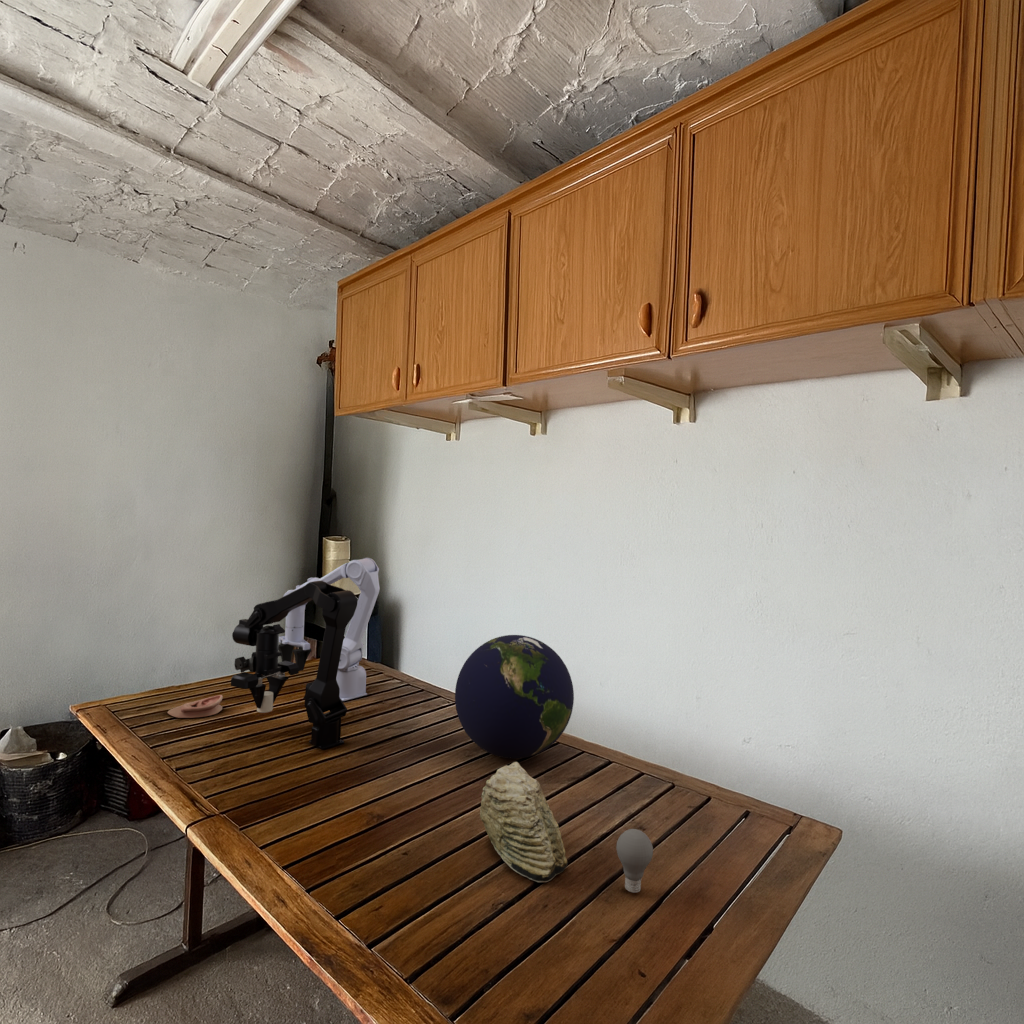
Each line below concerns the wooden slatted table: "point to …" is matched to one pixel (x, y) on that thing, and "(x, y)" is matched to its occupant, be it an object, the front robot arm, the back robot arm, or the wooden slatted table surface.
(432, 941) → the wooden slatted table surface
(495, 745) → the globe
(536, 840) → the fossil
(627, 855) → the light bulb
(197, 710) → the anatomical model
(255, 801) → the wooden slatted table surface
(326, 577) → the back robot arm
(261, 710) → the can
